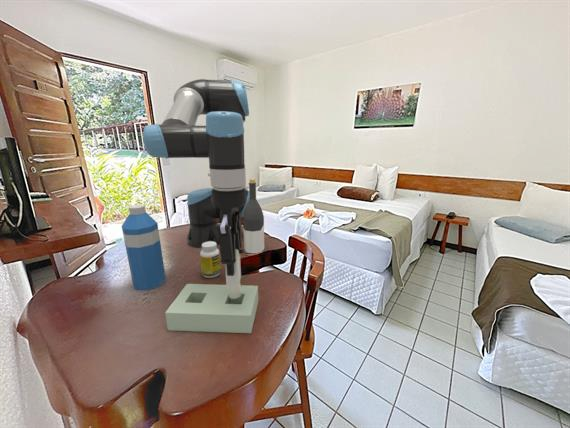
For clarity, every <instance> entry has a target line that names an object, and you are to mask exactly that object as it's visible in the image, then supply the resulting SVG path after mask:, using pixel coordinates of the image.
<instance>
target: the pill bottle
mask: <svg viewBox="0 0 570 428" xmlns="http://www.w3.org/2000/svg"><path fill="white" fill-rule="evenodd" d="M217 245H218V244H216V242H213V241H208V242H204V243H203V244H202V247H201V250H200V253H199V255H200V269H201V276H203V277H204V278H207V279H212V278H216V277H218V276H219V275H220V274H221V272H222V270H221V269H222V268H221V253H220V249H218V248H217Z"/></svg>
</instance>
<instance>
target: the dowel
mask: <svg viewBox="0 0 570 428" xmlns="http://www.w3.org/2000/svg"><path fill="white" fill-rule="evenodd" d="M235 251H236V260H237V268H238V286H228V292H229V297H230V298H232V299H235V298H238V297H240V296H241V287H240V285H241V279H240V267H239V254H240V253H239V250H238V249H235Z"/></svg>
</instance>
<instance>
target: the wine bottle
mask: <svg viewBox="0 0 570 428" xmlns="http://www.w3.org/2000/svg"><path fill="white" fill-rule="evenodd" d="M256 188H257V183H256V179H255V178H249V183H248V189H249V190H248V191H249V195H250V199H249V201H248V203H247V205H246V207H245V210H244V214H243V217H242V224H243V225H242V226H243V247H244V249H243V252H244V254H245V253H246V254H256V253H260V252H262V251H264V252H265V216H264V212H263V209H262V207H261V205H260V203H259V201H258V200H257V190H256ZM246 254H245V255H246Z"/></svg>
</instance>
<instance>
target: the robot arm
mask: <svg viewBox="0 0 570 428" xmlns="http://www.w3.org/2000/svg"><path fill="white" fill-rule="evenodd" d="M200 115H204V116H205V125H196V124H197V121H198V118H199V116H200ZM249 116H250V110H249V103H248V94H247V89H246V86H245V84H244V83H243V82H242V81H237V80H228V79H227V80H225V79H224V80H223V79H221V80H220V79H205V78H200V79H193V80H192V81H189V82H186V83H185V84H183V85H181V86H180V87H179V88H178V89H177V90H176V91H175V93H174V95H173V104H172V105H171V107H170V109H169V111H168V113H167V114H166V115H165V117H164V119H163V122H162V123H161V124H159V123H155V124H147V125H145V126H144V128H143V132H142V139H143V144H144V148H145V151H146V153H147V154H148V155H149V156H150V157H152V158H162V159H163V158H164V159H181V158H182V159H184V158H185V159H186V158H187V159H190V158H191V159H192V158H196V159H197V158H198V159H199V158H201V159H205V158H207V159H208V162H209V163H208V164H209V165H208V166H209V172H208V173H207V177H210V186H211V188H210V187H206V188H201V189H200V188H199V189H196V190H192V191H190V192H189V193H188V194H187V196H186V199H187V200H186V202H187V203H186V204H187V211H188V218H189V219H188V220H189V228H188V229H189V230H188V234H187V238H186V241H187V245H189V246H190V247H193V248H202V244H203V243H204V242H208V241H213V242H216V244H217V245H218V244H219V253H220V264H221V265H222V264H223V265H224V269H225V281H226V283H225V285H226V286H238V268H237V260H236V251H235V249H238V250H239V267H240V280H241V279H242V269H241V254H243V253H244V249H242V247H243V245H242V218H243V214H244V210H245V207H246V205H247V203H248V201H249V199H250V195H249V190H248V187H247V180H246V179H247V177H246V164H245V138H244V137H245V127H244V123H245V122H246V117H249ZM218 220H219V223H220V224H219V223H218Z"/></svg>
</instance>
